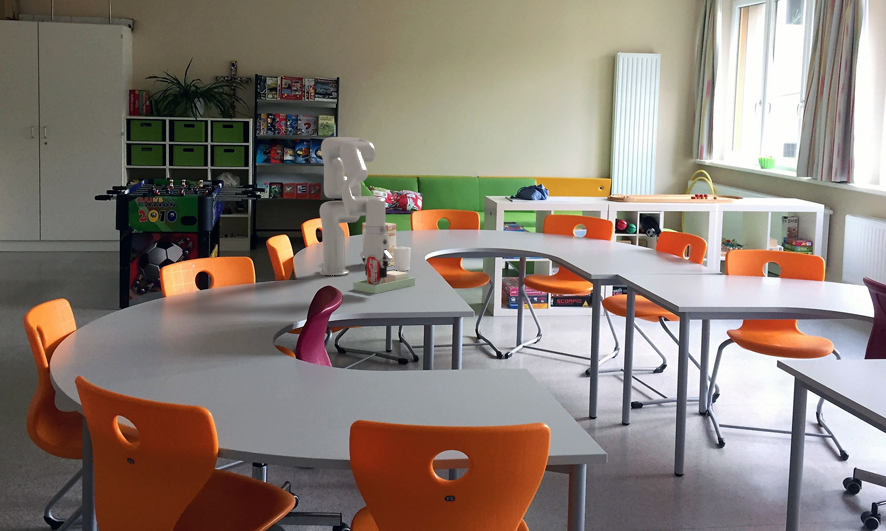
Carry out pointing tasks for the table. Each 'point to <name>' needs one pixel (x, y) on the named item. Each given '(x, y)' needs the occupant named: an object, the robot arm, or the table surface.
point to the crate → (383, 285)
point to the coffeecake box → (390, 234)
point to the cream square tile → (395, 276)
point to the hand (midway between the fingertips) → (376, 275)
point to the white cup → (401, 258)
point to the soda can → (374, 271)
